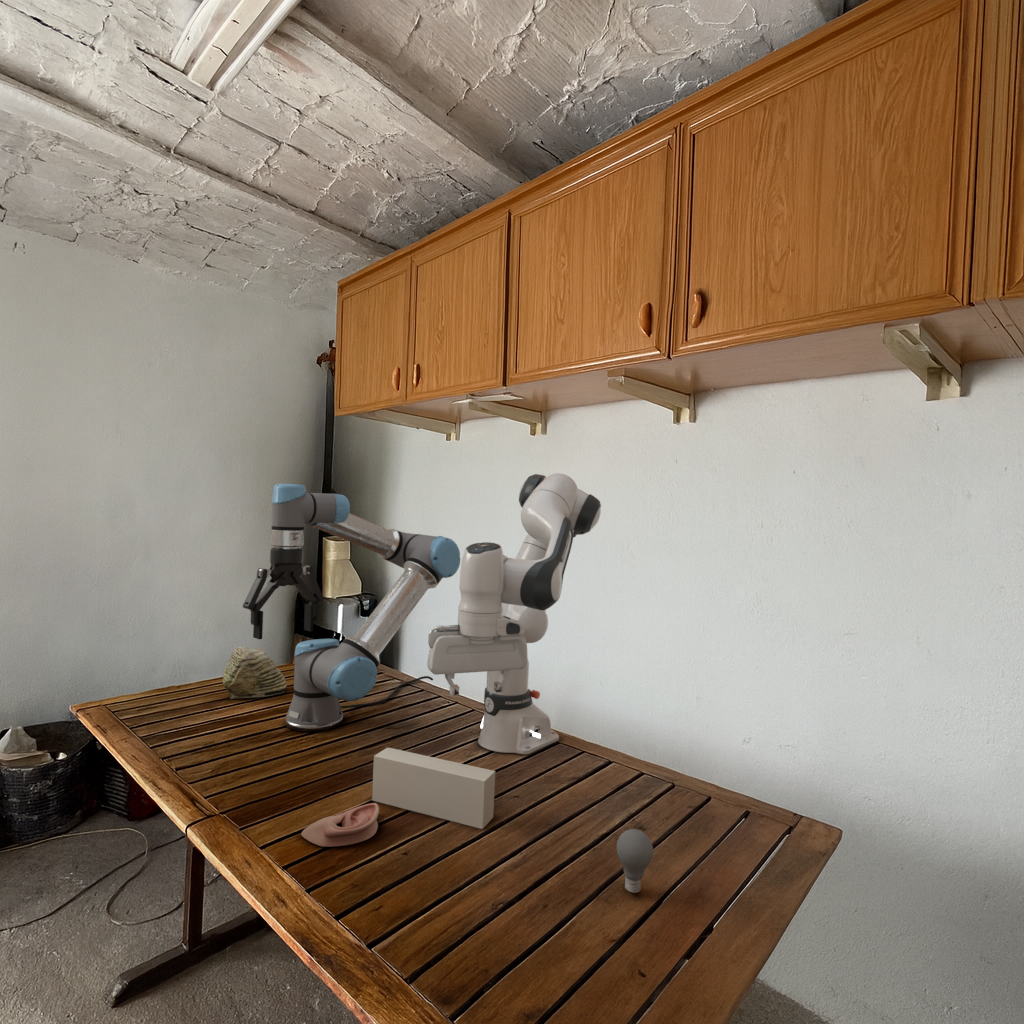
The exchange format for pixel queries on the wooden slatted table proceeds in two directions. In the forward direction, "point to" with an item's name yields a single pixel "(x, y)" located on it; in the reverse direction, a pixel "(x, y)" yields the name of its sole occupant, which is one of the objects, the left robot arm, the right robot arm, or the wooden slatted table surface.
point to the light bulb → (634, 857)
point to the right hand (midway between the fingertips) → (476, 693)
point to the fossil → (252, 674)
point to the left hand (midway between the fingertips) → (283, 634)
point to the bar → (434, 787)
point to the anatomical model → (344, 827)
